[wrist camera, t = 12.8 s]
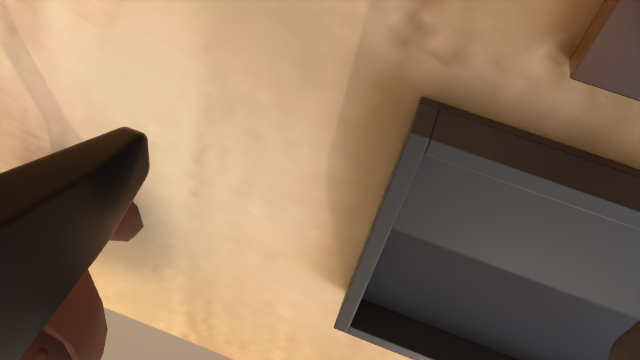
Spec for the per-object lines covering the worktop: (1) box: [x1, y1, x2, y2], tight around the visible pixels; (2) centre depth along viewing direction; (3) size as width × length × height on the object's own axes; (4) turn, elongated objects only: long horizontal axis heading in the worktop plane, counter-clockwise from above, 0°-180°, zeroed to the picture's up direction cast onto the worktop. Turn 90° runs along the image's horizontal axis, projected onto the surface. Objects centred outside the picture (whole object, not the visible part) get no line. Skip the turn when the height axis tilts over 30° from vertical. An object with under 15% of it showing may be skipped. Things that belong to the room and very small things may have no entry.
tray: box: [334, 97, 640, 360], centre depth 24 cm, size 18×15×2 cm
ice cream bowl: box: [19, 202, 143, 360], centre depth 28 cm, size 11×11×15 cm
